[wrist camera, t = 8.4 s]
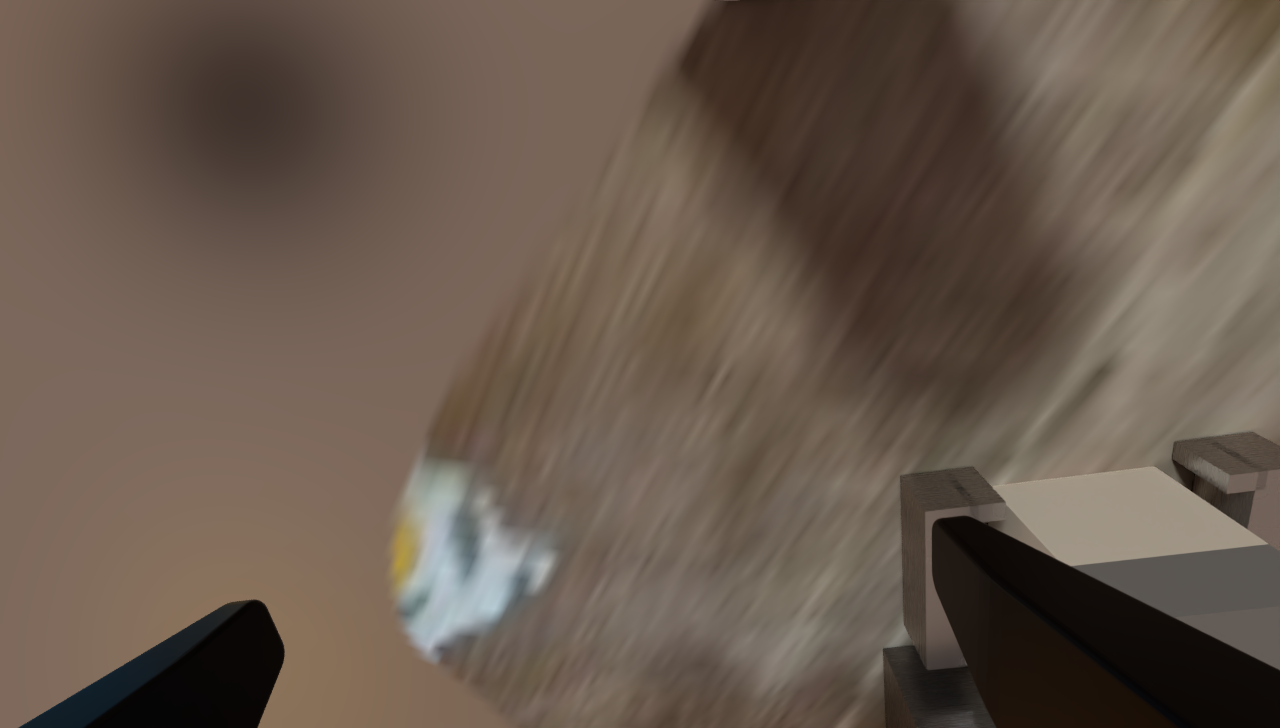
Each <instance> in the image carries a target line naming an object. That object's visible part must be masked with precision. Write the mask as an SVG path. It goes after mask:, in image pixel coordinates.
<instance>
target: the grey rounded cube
mask: <svg viewBox="0 0 1280 728" xmlns="http://www.w3.org/2000/svg"><path fill="white" fill-rule="evenodd" d="M992 488H993V489H994V490H995V491H996V492H997V493H998V494H999V495H1000V496H1001V497H1002V498H1003V499H1004V500H1005V502H1006V515H1005V520H1000V521H991V522H988V525H989V526H991V527H993V528H995V529H997V530H999V531H1001V532H1003V533H1005V534H1007V535H1009V536H1011V537H1013V538H1015V539H1017V540H1019V541H1021V542H1023V543H1025V544H1027V545H1029V546H1031V547H1033V548H1035V549H1037V550H1039V551H1041V552H1043V553H1045V554H1047V555H1049V556H1051V557H1053V558H1055V559H1057V560H1059V561H1061V562H1063V563H1065V564H1067V565H1069V566H1071V567H1073V568H1076V569H1078V570H1080V571H1082V572H1084V573H1086V574H1088V575H1090V576H1092V577H1094V578H1096V579H1098V580H1100V581H1102V582H1104V583H1106V584H1108V585H1110V586H1112V587H1114V588H1116V589H1118V590H1120V591H1122V592H1124V593H1126V594H1128V595H1130V596H1132V597H1134V598H1136V599H1138V600H1140V601H1142V602H1144V603H1146V604H1148V605H1150V606H1152V607H1154V608H1156V609H1158V610H1160V611H1162V612H1164V613H1166V614H1168V615H1170V616H1172V617H1174V618H1176V619H1178V620H1180V621H1182V622H1184V623H1186V624H1188V625H1190V626H1192V627H1194V628H1196V629H1198V630H1200V631H1202V632H1204V633H1206V634H1208V635H1210V636H1212V637H1214V638H1217V639H1219V640H1221V641H1223V642H1225V643H1227V644H1229V645H1231V646H1233V647H1235V648H1237V649H1239V650H1241V651H1243V652H1245V653H1247V654H1249V655H1251V656H1253V657H1255V658H1257V659H1259V660H1261V661H1263V662H1265V663H1267V664H1269V665H1271V666H1273V667H1275V668H1277V669H1279V670H1280V551H1278V550H1277V549H1275V548H1274V547H1272V546H1271V545H1269V544H1268V543H1266V542H1265V541H1264V540H1262V539H1261V538H1259V537H1258V536H1256V535H1255V534H1253V533H1252V532H1250V531H1249V530H1247V529H1246V528H1244V527H1243V526H1241V525H1240V524H1239V523H1237V522H1236V521H1234V520H1233V519H1231V518H1230V517H1228V516H1227V515H1225V514H1224V513H1222V512H1221V511H1219V510H1218V509H1216V508H1215V507H1214V506H1212V505H1211V504H1209V503H1208V502H1206V501H1205V500H1203V499H1202V498H1200V497H1199V496H1197V495H1196V494H1194V493H1193V492H1191V491H1190V490H1188V489H1187V488H1186V487H1184V486H1183V485H1181V484H1180V483H1178V482H1177V481H1175V480H1174V479H1172V478H1171V477H1169V476H1168V475H1166V474H1165V473H1163V472H1162V471H1161V470H1159V469H1158V468H1156V467H1155V466H1153V467H1145V468H1137V469H1128V470H1120V471H1112V472H1104V473H1095V474H1087V475H1079V476H1071V477H1062V478H1054V479H1046V480H1038V481H1029V482H1021V483H1013V484H1005V485H996V486H992Z"/></svg>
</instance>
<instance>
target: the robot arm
mask: <svg viewBox="0 0 1280 728" xmlns="http://www.w3.org/2000/svg"><path fill="white" fill-rule="evenodd" d="M932 577H933V582H934V586H935V590H936V592H937V595H938V597H939V600H940V602H941V604H942V607H943V609H944V611H945V614H946V616H947V619H948V621H949V623H950V626H951V628H952V630H953V633H954V635H955V637H956V640H957V642H958V645H959V647H960V649H961V652H962V654H963V656H964V659H965V661H966V663H967V666H968V668H969V671H970V673H971V675H972V678H973V680H974V682H975V685H976V687H977V689H978V692H979V694H980V696H981V698H982V701H983V703H984V705H985V707H986V709H987V711H988V713H989V715H990V717H991V719H992V721H993V723H994V725H995V727H996V728H1280V670H1279V669H1277V668H1275V667H1273V666H1271V665H1269V664H1267V663H1265V662H1263V661H1261V660H1259V659H1257V658H1255V657H1253V656H1251V655H1249V654H1247V653H1245V652H1243V651H1241V650H1239V649H1237V648H1235V647H1233V646H1231V645H1229V644H1227V643H1225V642H1223V641H1221V640H1219V639H1217V638H1214V637H1212V636H1210V635H1208V634H1206V633H1204V632H1202V631H1200V630H1198V629H1196V628H1194V627H1192V626H1190V625H1188V624H1186V623H1184V622H1182V621H1180V620H1178V619H1176V618H1174V617H1172V616H1170V615H1168V614H1166V613H1164V612H1162V611H1160V610H1158V609H1156V608H1154V607H1152V606H1150V605H1148V604H1146V603H1144V602H1142V601H1140V600H1138V599H1136V598H1134V597H1132V596H1130V595H1128V594H1126V593H1124V592H1122V591H1120V590H1118V589H1116V588H1114V587H1112V586H1110V585H1108V584H1106V583H1104V582H1102V581H1100V580H1098V579H1096V578H1094V577H1092V576H1090V575H1088V574H1086V573H1084V572H1082V571H1080V570H1078V569H1076V568H1073V567H1071V566H1069V565H1067V564H1065V563H1063V562H1061V561H1059V560H1057V559H1055V558H1053V557H1051V556H1049V555H1047V554H1045V553H1043V552H1041V551H1039V550H1037V549H1035V548H1033V547H1031V546H1029V545H1027V544H1025V543H1023V542H1021V541H1019V540H1017V539H1015V538H1013V537H1011V536H1009V535H1007V534H1005V533H1003V532H1001V531H999V530H997V529H995V528H993V527H991V526H989V525H987V524H985V523H983V522H981V521H979V520H977V519H975V518H973V517H970V516H965V515H963V516H955V517H946V518H939V519H937V520H936V521H935V522H934V523H933V526H932ZM284 653H285V651H284V645H283V642H282V640H281V637H280V635H279V633H278V631H277V628H276V626H275V624H274V622H273V620H272V618H271V615H270V613H269V611H268V609H267V607H266V605H265V604H264V603H262V602H261V601H259V600H246V601H237V602H231V603H228V604H225V605H224V606H222V607H220V608H218V609H217V610H215V611H213V612H212V613H210V614H208V615H207V616H205V617H203V618H201V619H200V620H198V621H196V622H195V623H193V624H191V625H190V626H188V627H187V628H185V629H183V630H182V631H180V632H178V633H177V634H175V635H173V636H171V637H170V638H168V639H166V640H165V641H163V642H161V643H160V644H158V645H156V646H155V647H153V648H151V649H150V650H148V651H146V652H144V653H143V654H141V655H140V656H138V657H136V658H135V659H133V660H131V661H129V662H128V663H126V664H124V665H123V666H121V667H119V668H118V669H116V670H114V671H113V672H111V673H109V674H108V675H106V676H104V677H103V678H101V679H99V680H98V681H96V682H94V683H93V684H91V685H89V686H88V687H86V688H84V689H82V690H81V691H79V692H77V693H76V694H74V695H72V696H71V697H69V698H67V699H66V700H64V701H63V702H61V703H59V704H57V705H56V706H54V707H52V708H51V709H49V710H48V711H46V712H44V713H42V714H41V715H39V716H37V717H36V718H34V719H32V720H31V721H29V722H27V723H26V724H24V725H22V726H20V727H19V728H258V725H259V723H260V720H261V717H262V715H263V713H264V710H265V707H266V705H267V703H268V700H269V697H270V695H271V693H272V690H273V687H274V685H275V683H276V680H277V678H278V675H279V673H280V670H281V668H282V664H283V661H284Z"/></svg>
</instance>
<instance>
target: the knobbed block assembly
mask: <svg viewBox="0 0 1280 728" xmlns="http://www.w3.org/2000/svg"><path fill="white" fill-rule="evenodd" d="M1172 459H1173V460H1175V461H1176V462H1178V463H1179V464H1181V465H1183V466H1184V467H1186V468H1187V469H1189V470H1190V471H1192V472H1193V473H1195V478H1194V484H1193V490H1192V492H1193V493H1194V494H1196V495H1197V496H1199V497H1200V498H1202V499H1203V500H1205V501H1206V502H1208V503H1209V504H1211V505H1212V506H1214V507H1215V508H1216V509H1218V510H1219V511H1221V512H1222V513H1224V514H1225V515H1227V516H1228V517H1230V518H1231V519H1233V520H1234V521H1236V522H1237V523H1239V524H1240V525H1241V526H1243V527H1244V528H1246V529H1247V530H1249V531H1250V532H1252V533H1253V534H1255V535H1256V536H1258V537H1259V538H1261V539H1262V540H1264V541H1265V542H1266V543H1268V544H1269V545H1271V546H1272V547H1274V548H1275V549H1277V550H1278V551H1280V446H1279V445H1277V444H1275V443H1273V442H1271V441H1270V440H1268V439H1266V438H1264V437H1262V436H1260V435H1258V434H1256V433H1254V432H1250V433H1242V434H1234V435H1225V436H1217V437H1209V438H1201V439H1193V440H1185V441H1177V442H1175V444H1174V451H1173V458H1172ZM900 483H901V524H902V565H903V606H904V626H905V628H906V630H907V632H908V634H909V636H910V638H911V640H912V642H913V644H914V646H905V647H895V648H885V649H883V661H884V687H885V712H886V728H996V727H995V725H994V723H993V721H992V719H991V717H990V715H989V713H988V711H987V709H986V707H985V705H984V703H983V701H982V698H981V696H980V694H979V692H978V689H977V687H976V685H975V682H974V680H973V678H972V675H971V673H970V671H969V668H968V666H967V663H966V661H965V659H964V656H963V654H962V652H961V649H960V647H959V645H958V642H957V640H956V637H955V635H954V633H953V630H952V628H951V626H950V623H949V621H948V619H947V616H946V614H945V611H944V609H943V607H942V604H941V602H940V600H939V597H938V595H937V592H936V590H935V586H934V582H933V577H932V526H933V523H934V522H935V521H936V520H937V519H939V518H946V517H955V516H963V515H965V516H970V517H973V518H975V519H977V520H979V521H981V522H991V521H1000V520H1005V515H1006V502H1005V500H1004V499H1003V498H1002V497H1001V496H1000V495H999V494H998V493H997V492H996V491H995V490H994V489H993V488H992V486H991V485H990V484H989V483H988V482H987V481H986V480H985V479H984V478H983V477H982V476H981V475H980V474H979V472H978V471H977V470H976V469H975V468H974V467H968V468H960V469H952V470H944V471H936V472H928V473H920V474H912V475H904V476H900Z"/></svg>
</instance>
